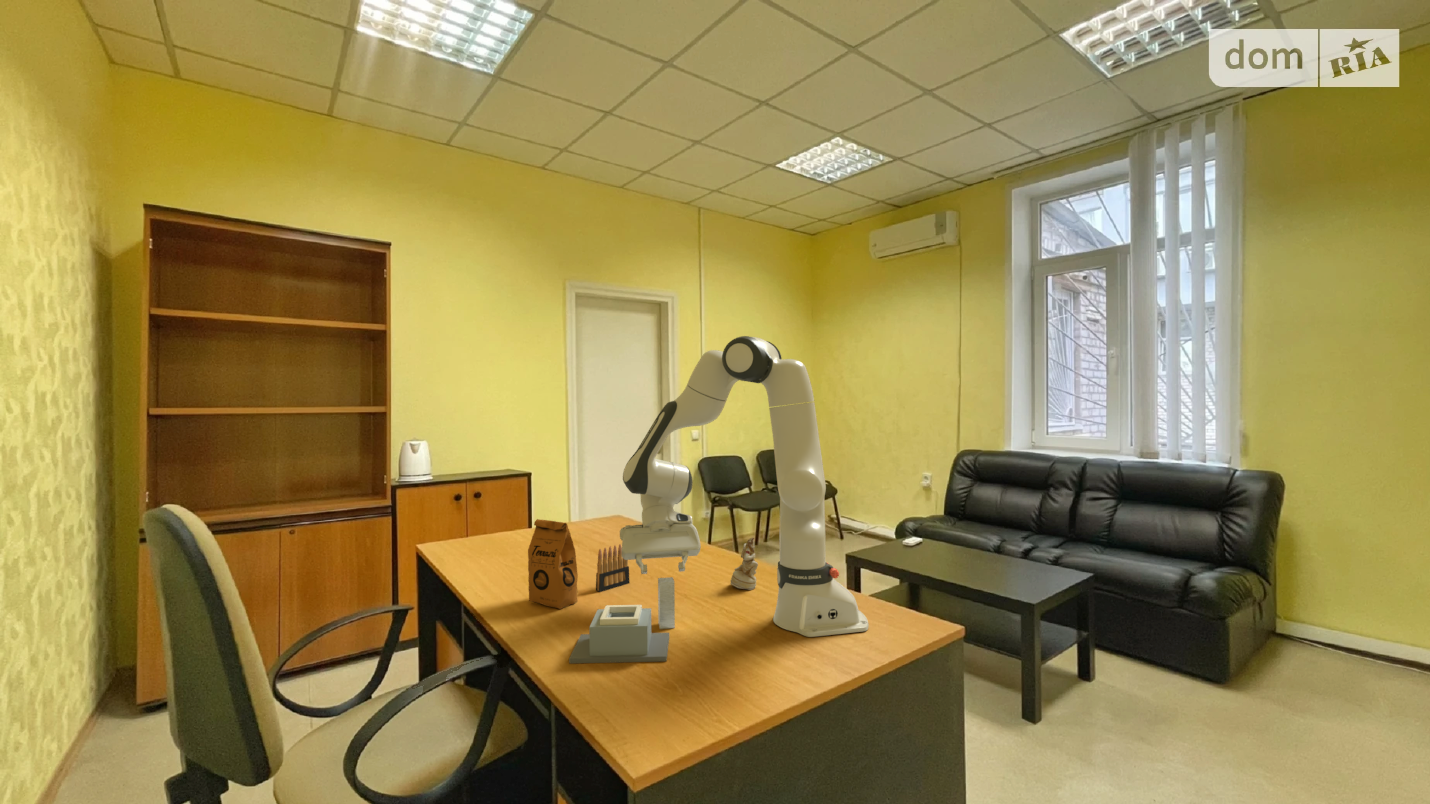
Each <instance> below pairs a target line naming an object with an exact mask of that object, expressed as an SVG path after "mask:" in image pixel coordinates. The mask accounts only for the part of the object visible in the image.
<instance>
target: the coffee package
mask: <svg viewBox="0 0 1430 804" xmlns="http://www.w3.org/2000/svg"><path fill="white" fill-rule="evenodd" d="M533 525H534V526H535V529H534V531H533V534H532V537H531V540H530V544H529V546H528V549H527V558H528V562H527V563H528V566H527V567H528V568H527V569H528V578H527V579H528V602H532V603H537V604H542V606H543V605H544V606H546V607H550V608H555V609H559V610H562V609H563V608H567V607H569V606H570V605H573V604H576V603H578V577H579V576H578V575H579V574H578V573H579V572H578V564H577V558H576V557H577V555H576V549H575V544H574V541H573V538H572V536H571V532H570V529H569V525H568V523H567V522H561V521H556V520H550V519H549V520H547V519H538V518H537V519H536V520H535V521H534V522H533Z"/></svg>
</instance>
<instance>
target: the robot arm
mask: <svg viewBox="0 0 1430 804" xmlns="http://www.w3.org/2000/svg"><path fill="white" fill-rule="evenodd" d="M738 381H741V382H748V383H752V384H753V383H754V384H761V385H763V387H764V388H765V391H766V393H767V401H768V407H769V408H768V411H769V416H770V418H769V419H770V424H771V432H772V439H773V440H772V442H773V452H774V464H775V472H776V473H775V474H776V481H777V483H776V484H777V490H778V494H779V528H778V529H779V561H778V562H777V568H776V570H777V572H776V573H777V574H776V575H777V579H776V580H777V585H778V593H777V600H776V601H777V602H776V607H775V611H774V615H773V618H772V620H773V623H774V624H775V625H777V626H778V627H780V628H782V629H784V630H786V631H791V632H794V633H798V634H800V635H802V636H804V637H807V638H814V637H823V636H831V635H833V636H834V635H841V634H843V635H844V634H850V633H859V632H867V630H868V629H869V621H868V618H867V617H866V615H865V614H864V613H863V612H862V611H861V610H859V607H858V603H857V601H856V597H855V596H854V594H853V593H852V592H851V591H850V590H849V589H848V588H846V587H845V586H843V585H842V584H841V583H840V582H838V580H836V579H838V578H839V577H840V576H839V575H840V572H839V570H838V569H837V568H835V567H834V566H833V565H831V564H830V563H829V562H826V517H825V516H826V511H825V509H826V508H825V495H826V491H827V490H826V489H827V485H826V478H825V477H826V476H825V471H824V463H823V457H822V448H821V442H820V436H819V435H820V433H819V427H818V419H817V411H816V406H815V405H816V404H815V398H814V397H815V396H814V391H813V386H812V383H811V379H810V375H809V372H808V370H807V367H806V365H805V364H804V363H803V362H802V361H800V360H798V359H794V358H784V359H783V357H782V354H781V352H780V350H779V349H778V347H777V346H776V345H775V344H773V343H772V342H770V341H768V340H765V339H764V338H760V337H756V336H750V335H742V336H737V337H736V338H733V339H732V340H731V341H729V342H728V343H727V344H726V346H724V348H723V351H722V350H717V349H710V350H707V351H705V352H704V353H703V355H701V356H700V359H699V360H698V362H697V364H696V365H695V367H694V369H693V371H692V373H691V375H690V376H689V379H688V381H687V383H686V386H685V388H684V390H683V391H682V392H681V393H680V394H679V396H678V397H677V398H676V399H674V400H672V401H669V402H667V403H666V404H665V405H664V406H663V407H662V409H661V410H660V411H659V413H658V415H657V416H656V418H655V420H653V423H652V424H651V426H650V428H649V430H648V431H647V433H646V435H645V437H644V438H643V439H642V441H641V442H640V444H639V446H638V448H637V449H636V451H635V452H634V453H633V454H632V456H631V457H630V458H629V460H628V461H627V463H626V465H625V466H624V469H623V473H622V480H623V483H624V485H625V488H627V490H628V491H629V492H630V493H631V494H636V495H640V496H639V497H640V505H641V507H642V511H641V524H633V525H631V524H629V525H625V526H624V527H621V528H620V530H619V539H620V541H622V543H621V547H622V558H623V559H624V560H628V561H630V560H633V561H634V560H635V563H636V565H637V567H639V568H640V573H641V575H646V574H648V564H644V563H643V561H642V560H645V559H647V560H650V559H664V558H665V559H666V558H679V557H681V560H682V562H681V561H680V562H678V565H677V566H678V572H685V571H686V563H687V560H688V557H695V556H698V555H699V553H700V552H701V547H702V546H701V540H700V536H699V532H698V529H697V528H696V526H695V525H694V524H693V516H692V515H689V514H685V513H682V512H678V511H675V510H674V506H675V505H678V504H680V502H682V501H683V500H684V499H686V498H687V497H688V496H689V495H690V494H691V492H692V489H693V481H694V480H693V476H692V472H691V470H690V468H689V467H688V466H687V465H684V464H682V463H681V464H680V463H677V462H674V461H673V462H672V461H667V460H663V459H658V458H656V456H657V455H658V453H660V452H659V451H660V450H661V449H662V446H663V445H664V443H665V442H666V440H667V438H668V437H669V435H670V434H672V433H673V432H675V431H678V430H680V429H684V428H689V427H690V428H691V427H700V426H704V425H707V424H710V423H712V422H714V421H715V420H717V419H718V417H719V416H720V415H721V413H722V411H723V409H724V407H725V405H726V403H727V401H728V399H729V395H730V392H731V390H732V388H733V386H734V385H735V384H737V382H738Z"/></svg>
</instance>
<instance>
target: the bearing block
mask: <svg viewBox="0 0 1430 804" xmlns="http://www.w3.org/2000/svg"><path fill="white" fill-rule="evenodd" d="M604 609H605V608H602V609H601V608H600V609H599V608H598V609H597V610H596V612H595V614H594V617H593V619H592V621H591V623H590V625H589V629H588V630H589V633H584V634H582V633H581V634H580V636H579V637H578V640H577V641H576V644H575V645H574V648H573V650H572V652H571V654H570V656H569V658H568V663H569V664H596V663H597V664H601V663H602V664H605V663H608V664H609V663H611V664H612V663H644V662H645V663H646V662H647V663H648V662H651V663H652V662H653V663H654V662H667V660H668V653H669V644H670V632H652V608H650V607H649V608H645V607H644V608H643V607H642V612H641V616H640V619H639V623H638V624H627V625H600V618H601V616H602V613H603V611H604ZM634 615H635V612H610V613H609V616H608V617H634Z"/></svg>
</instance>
